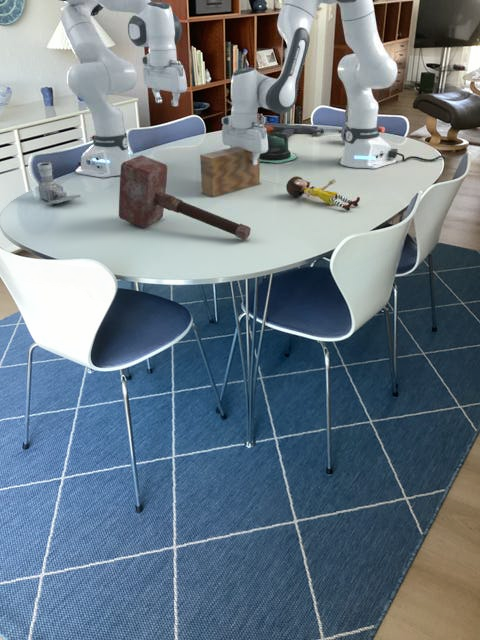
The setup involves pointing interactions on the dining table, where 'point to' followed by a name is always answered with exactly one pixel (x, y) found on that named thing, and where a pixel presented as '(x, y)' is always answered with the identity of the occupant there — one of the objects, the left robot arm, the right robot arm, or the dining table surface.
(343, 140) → the toy
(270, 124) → the submachine gun
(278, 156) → the green dome on base
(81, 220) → the dining table surface
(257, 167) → the box
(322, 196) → the figurine
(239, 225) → the sledgehammer
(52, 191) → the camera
